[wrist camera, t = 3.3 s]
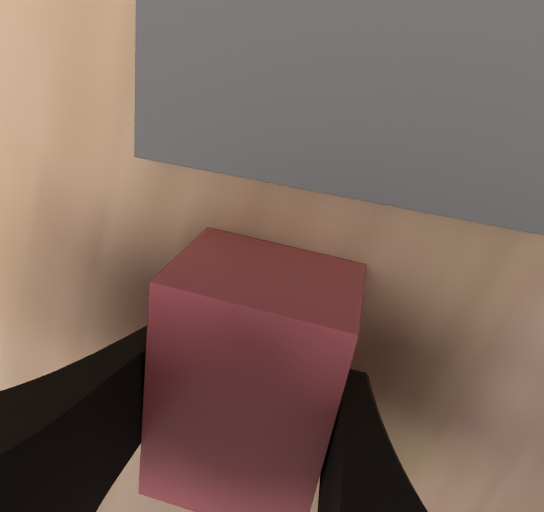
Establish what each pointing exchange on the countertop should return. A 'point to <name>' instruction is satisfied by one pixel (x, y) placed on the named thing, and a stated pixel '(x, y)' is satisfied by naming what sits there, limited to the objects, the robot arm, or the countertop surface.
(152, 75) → the mat
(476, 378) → the countertop surface
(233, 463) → the pink rectangular block
